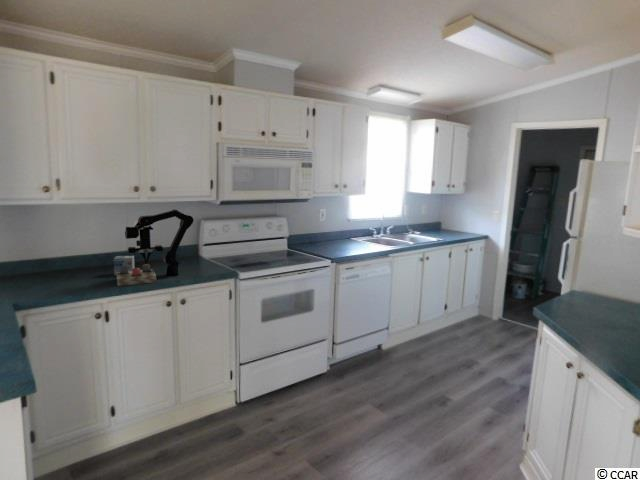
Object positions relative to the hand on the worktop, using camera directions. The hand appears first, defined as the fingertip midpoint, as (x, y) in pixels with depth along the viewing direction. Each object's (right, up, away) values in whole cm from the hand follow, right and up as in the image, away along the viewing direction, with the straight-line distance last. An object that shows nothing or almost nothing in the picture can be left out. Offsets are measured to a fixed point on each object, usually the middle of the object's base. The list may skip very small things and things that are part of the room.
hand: (146, 263), depth 240 cm
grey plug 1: (-11, -6, -5) cm, 13 cm away
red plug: (-2, -7, -9) cm, 11 cm away
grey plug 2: (0, -5, +1) cm, 5 cm away
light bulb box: (-18, -7, +10) cm, 22 cm away
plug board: (-4, -10, -5) cm, 12 cm away
